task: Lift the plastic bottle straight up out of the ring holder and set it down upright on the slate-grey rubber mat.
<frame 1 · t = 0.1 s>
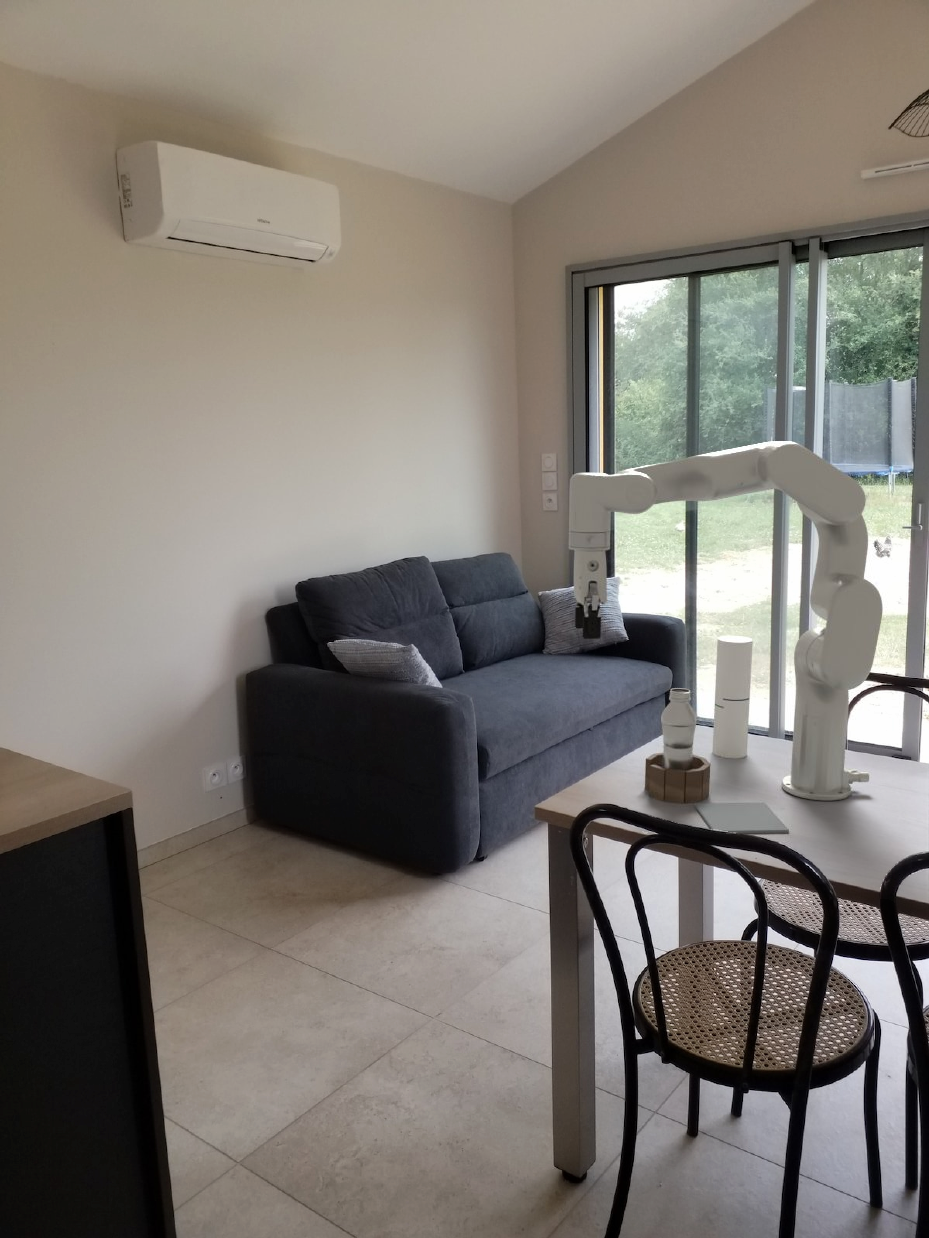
hand: (587, 633, 186), 31 cm above the table, tool pointing down, fingers open, 9 cm apart
ring holder: (676, 791, 192), on the table
rubber mat: (740, 818, 178), on the table
cylindrical container: (729, 753, 215), on the table
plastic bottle: (676, 792, 192), resting in ring holder
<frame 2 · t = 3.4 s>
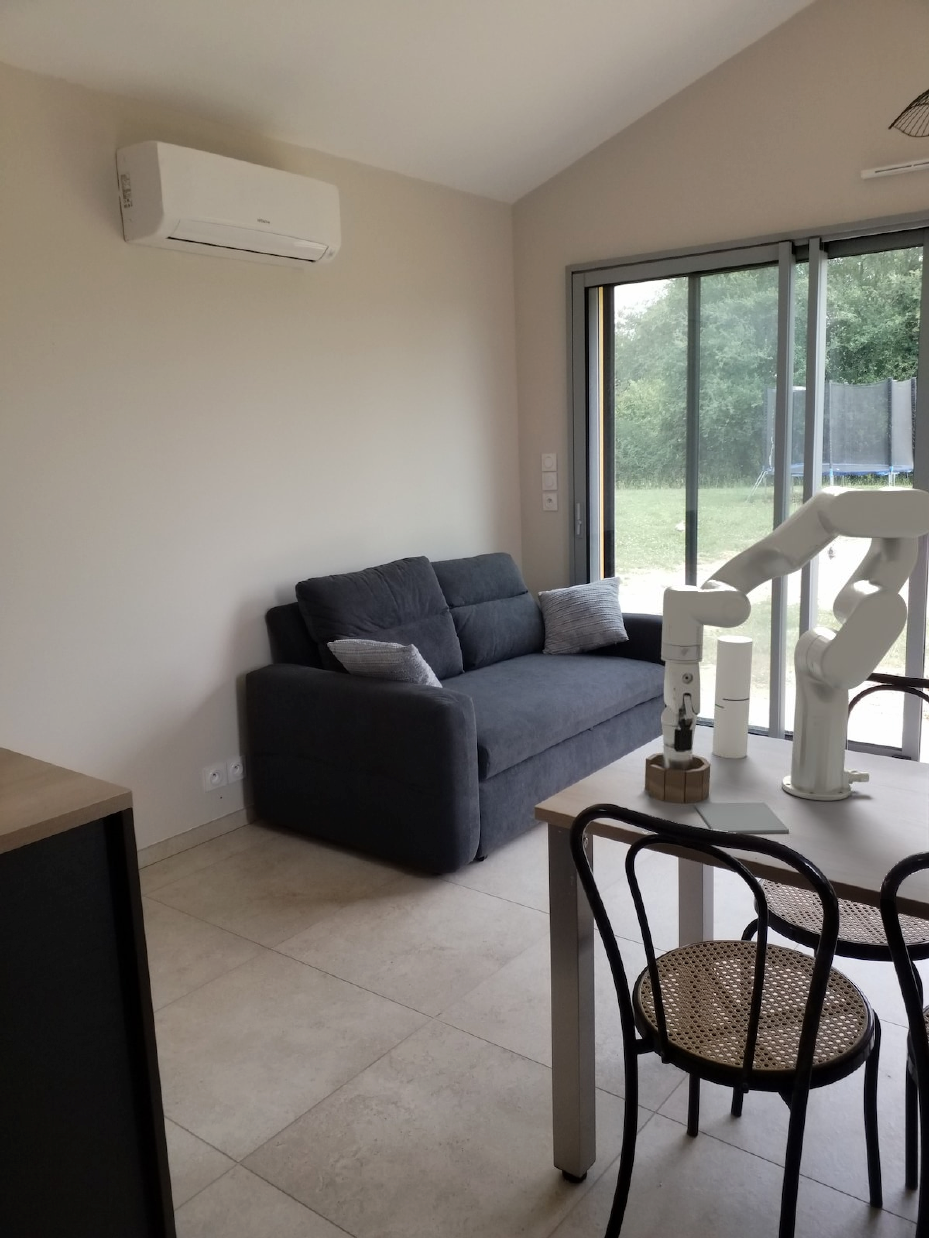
hand: (678, 743, 190), 10 cm above the table, tool pointing down, fingers closed on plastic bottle, 6 cm apart
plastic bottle: (676, 792, 192), resting in ring holder, touching gripper
everything else where it was.
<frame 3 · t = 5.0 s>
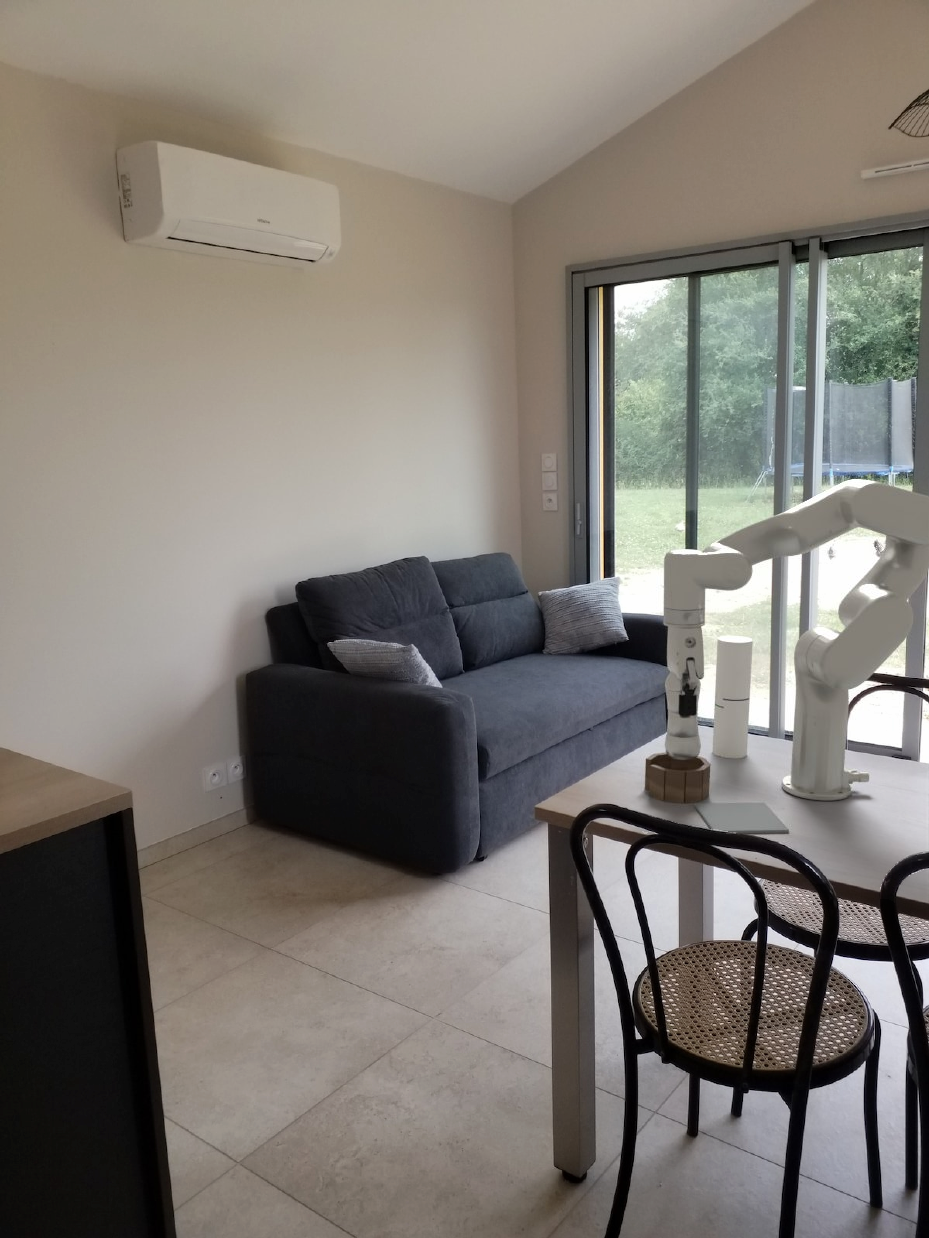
hand: (682, 709, 189), 16 cm above the table, tool pointing down, fingers closed on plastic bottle, 6 cm apart
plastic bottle: (682, 759, 191), point 6 cm above the table, touching gripper
everything else where it was.
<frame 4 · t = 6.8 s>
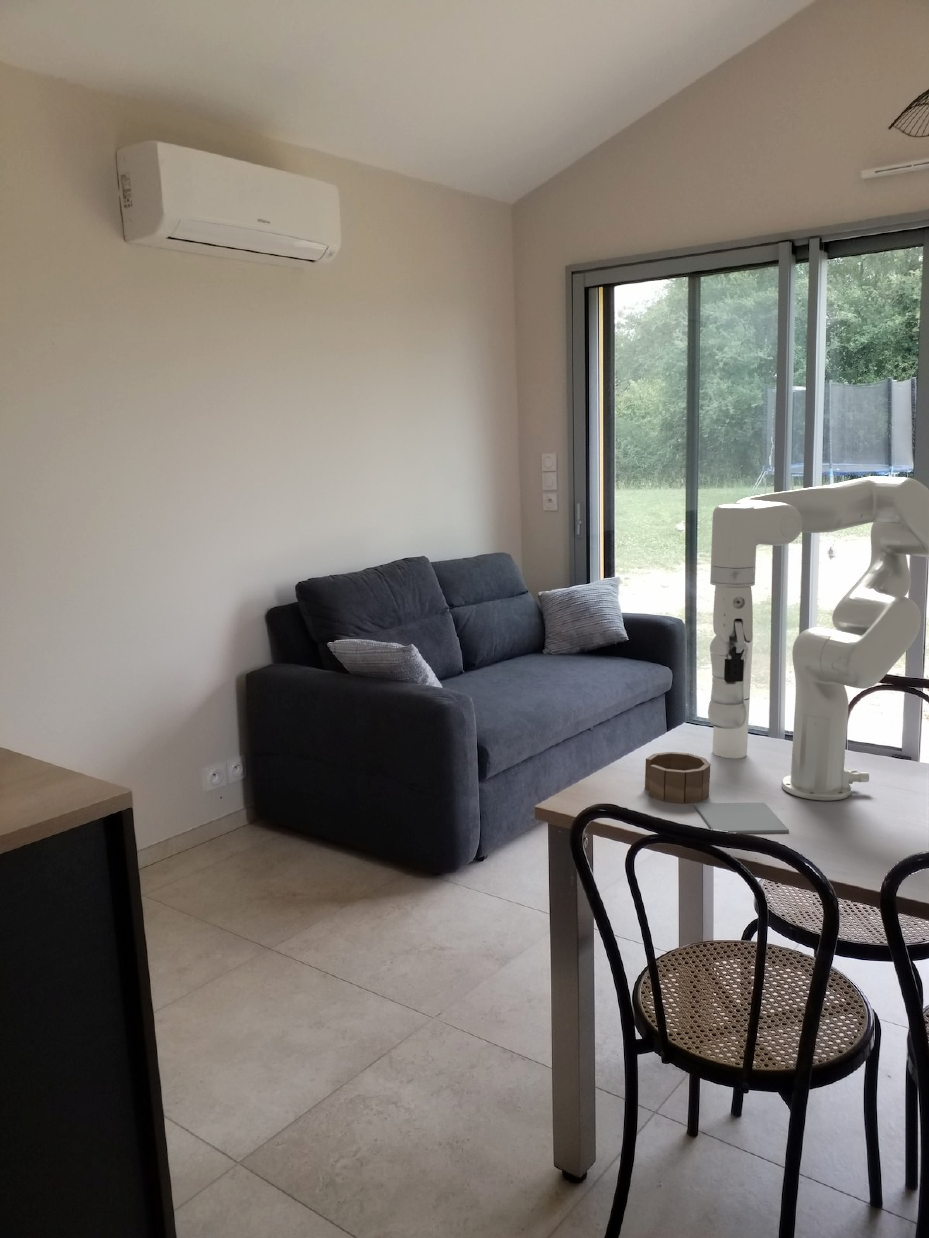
hand: (728, 675, 178), 25 cm above the table, tool pointing down, fingers closed on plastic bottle, 6 cm apart
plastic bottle: (726, 728, 179), point 15 cm above the table, touching gripper
everything else where it was.
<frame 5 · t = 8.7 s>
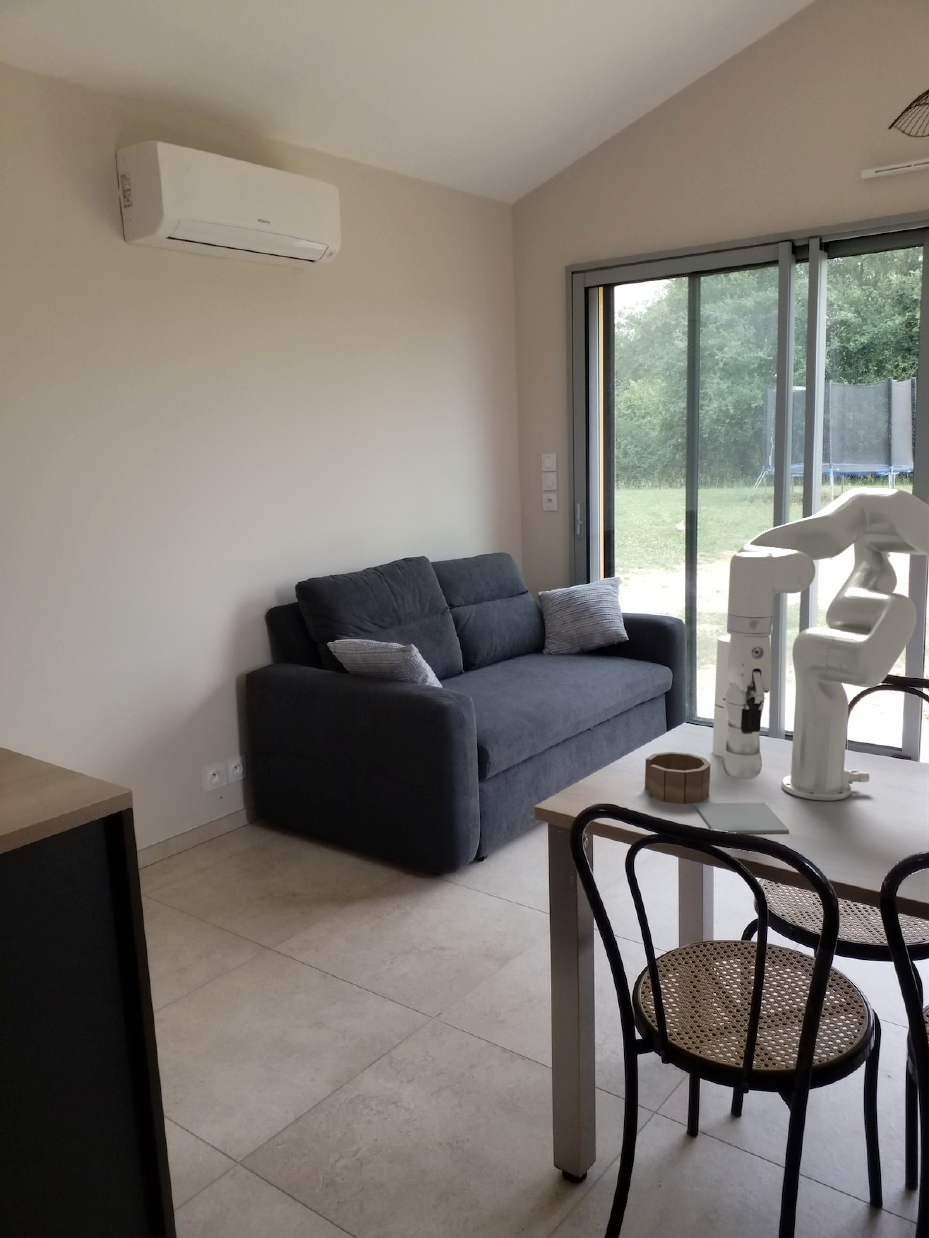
hand: (744, 724, 175), 17 cm above the table, tool pointing down, fingers closed on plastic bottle, 6 cm apart
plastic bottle: (741, 778, 177), point 8 cm above the table, touching gripper
everything else where it was.
when the fingers open (11 cm above the table, at t = 10.3 s): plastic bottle drops 1 cm, resting on rubber mat.
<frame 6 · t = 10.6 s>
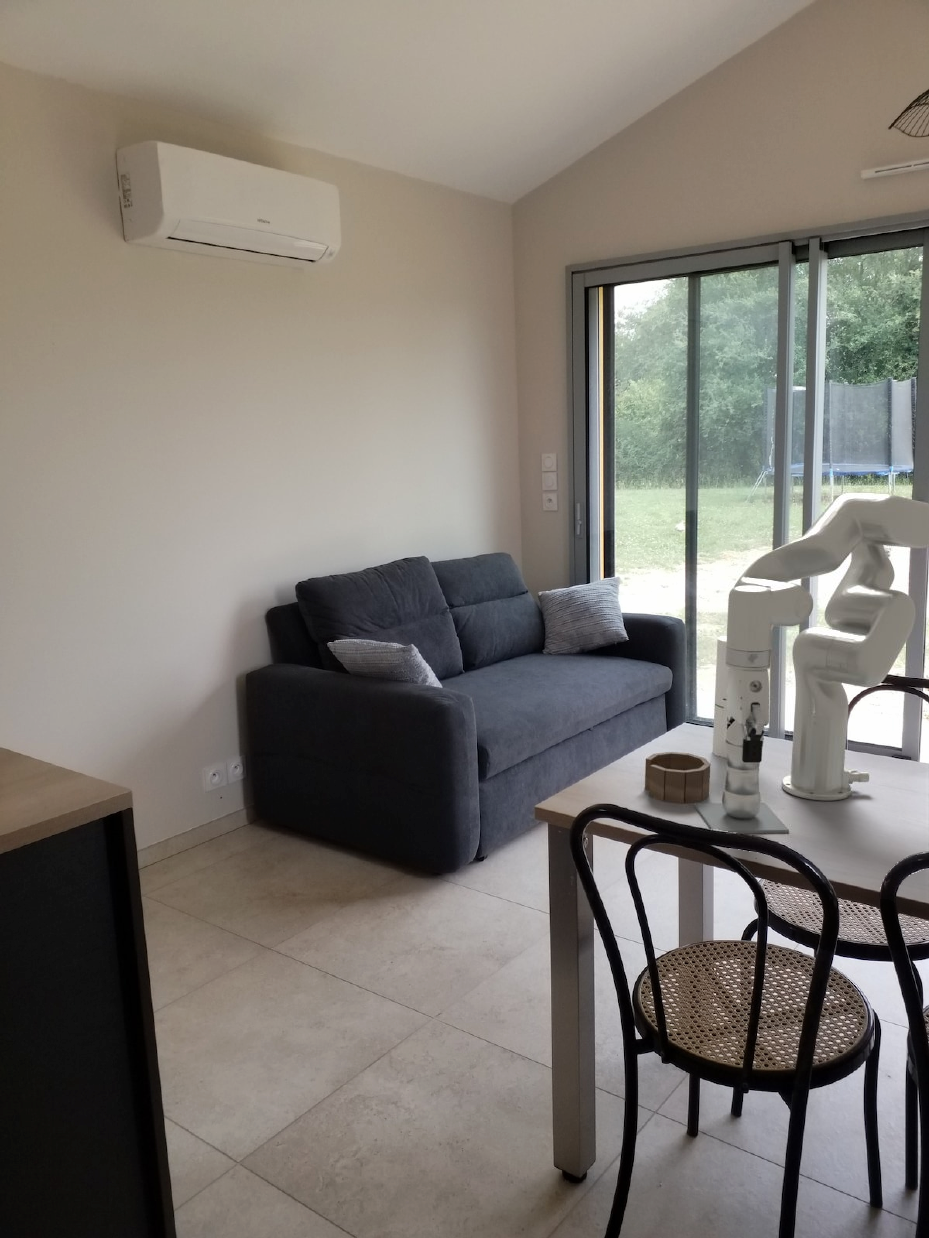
hand: (743, 753, 176), 12 cm above the table, tool pointing down, fingers open, 9 cm apart
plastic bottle: (740, 816, 178), resting on rubber mat
everything else where it was.
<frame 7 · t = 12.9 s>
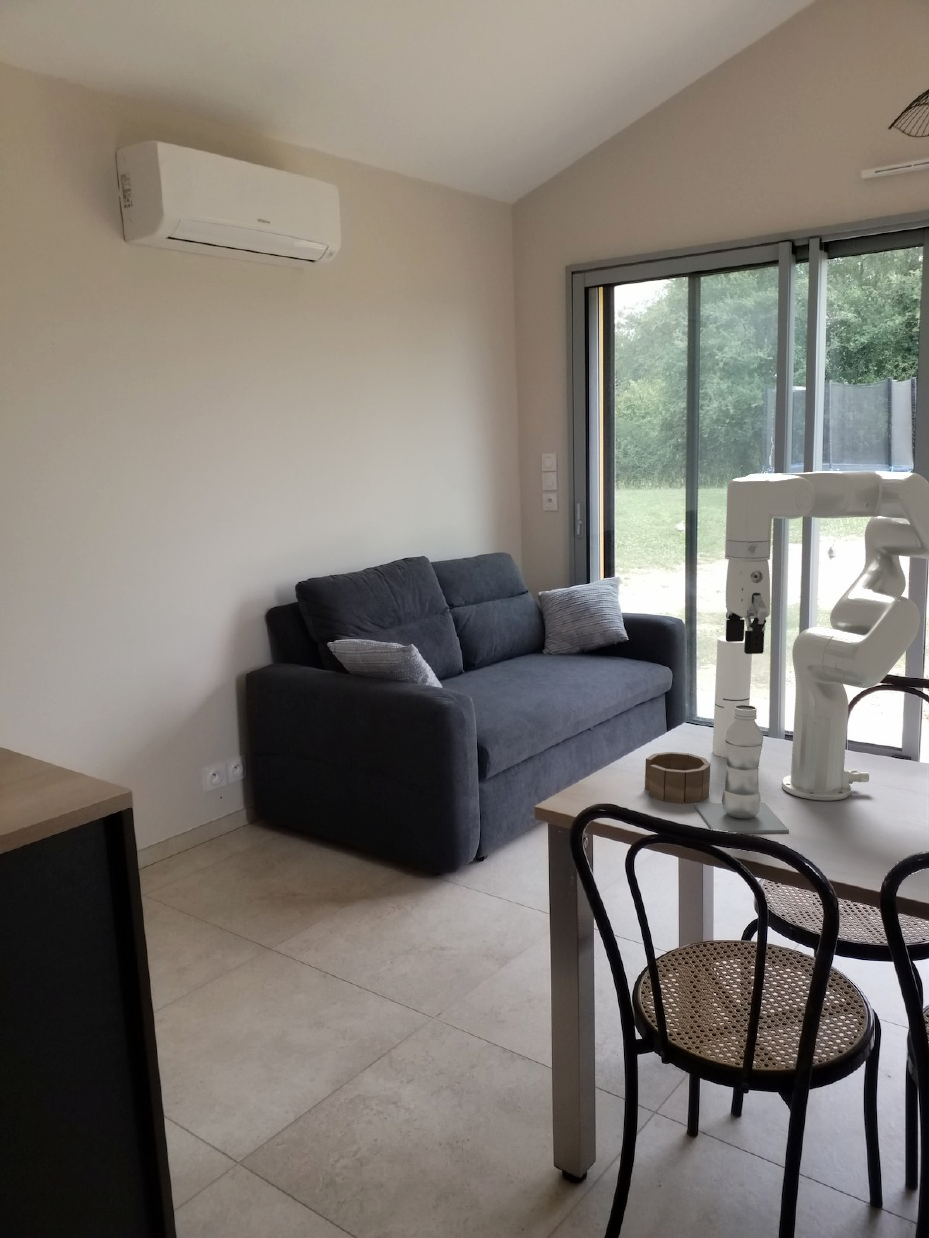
hand: (743, 647, 176), 31 cm above the table, tool pointing down, fingers open, 9 cm apart
nothing on the table moved.
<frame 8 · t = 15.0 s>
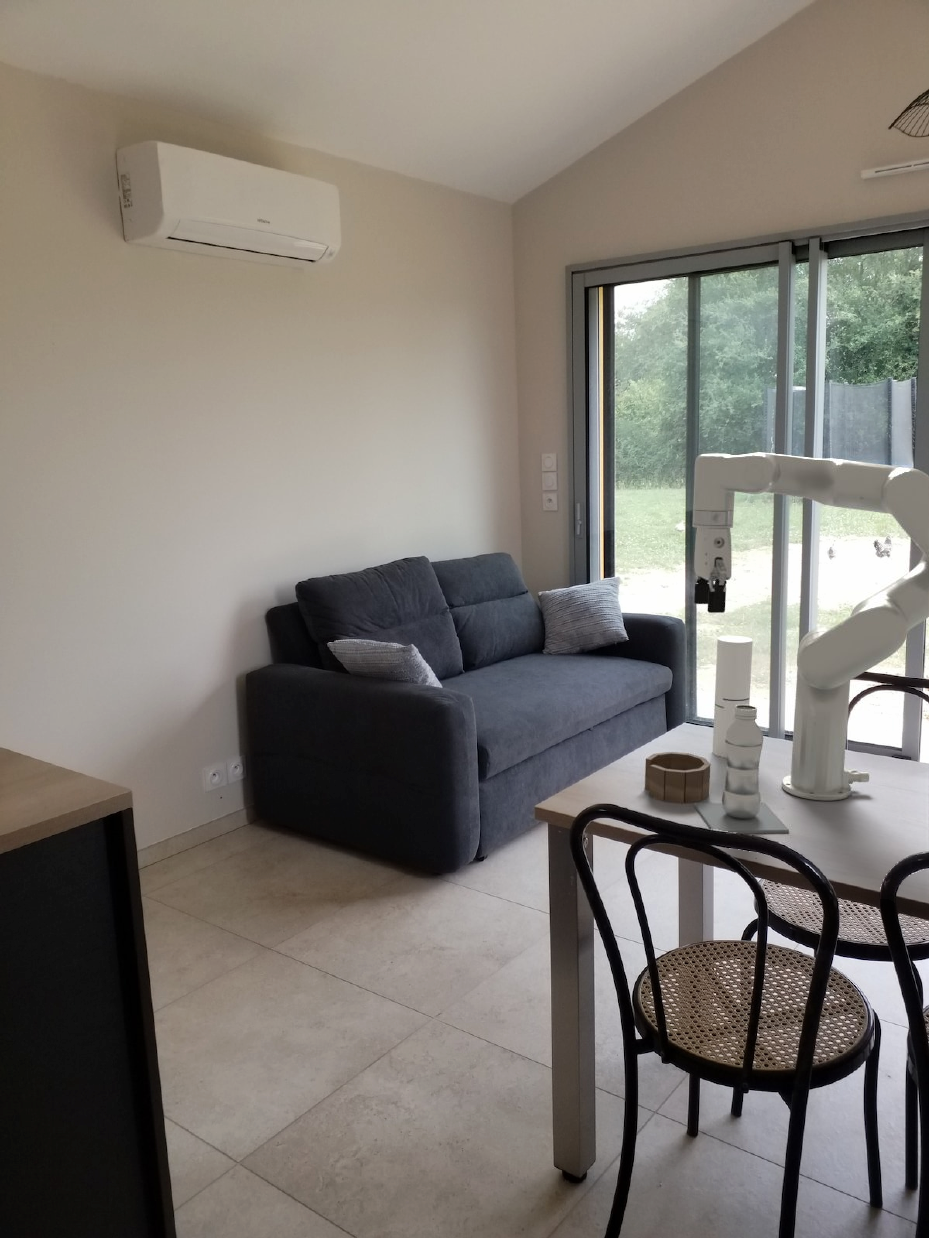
hand: (709, 608, 194), 34 cm above the table, tool pointing down, fingers open, 9 cm apart
nothing on the table moved.
at the end: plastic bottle inside the target area on the rubber mat (0.1 cm from its centre), point 0.3 cm above the rubber mat's base; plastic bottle tilted 0°; the gripper is holding nothing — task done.
